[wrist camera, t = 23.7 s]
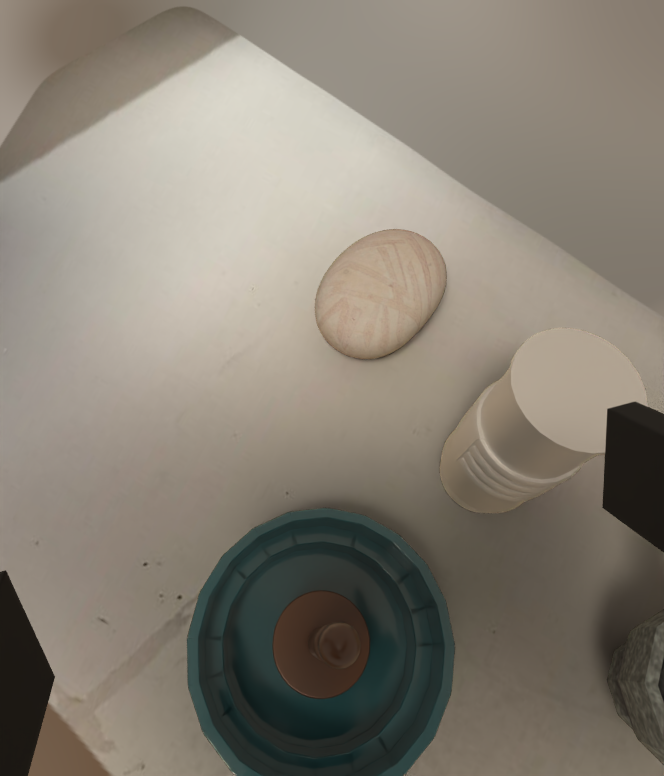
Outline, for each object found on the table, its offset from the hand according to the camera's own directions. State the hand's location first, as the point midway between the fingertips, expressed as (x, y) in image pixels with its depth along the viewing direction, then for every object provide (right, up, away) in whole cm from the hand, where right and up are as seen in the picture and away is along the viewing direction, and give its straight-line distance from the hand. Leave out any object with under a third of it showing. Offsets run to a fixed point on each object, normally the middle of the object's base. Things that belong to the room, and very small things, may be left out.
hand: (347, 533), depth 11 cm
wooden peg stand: (-1, -13, +21) cm, 25 cm away
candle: (+11, -3, +28) cm, 30 cm away
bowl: (-1, -13, +22) cm, 26 cm away
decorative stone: (+3, +10, +33) cm, 35 cm away
